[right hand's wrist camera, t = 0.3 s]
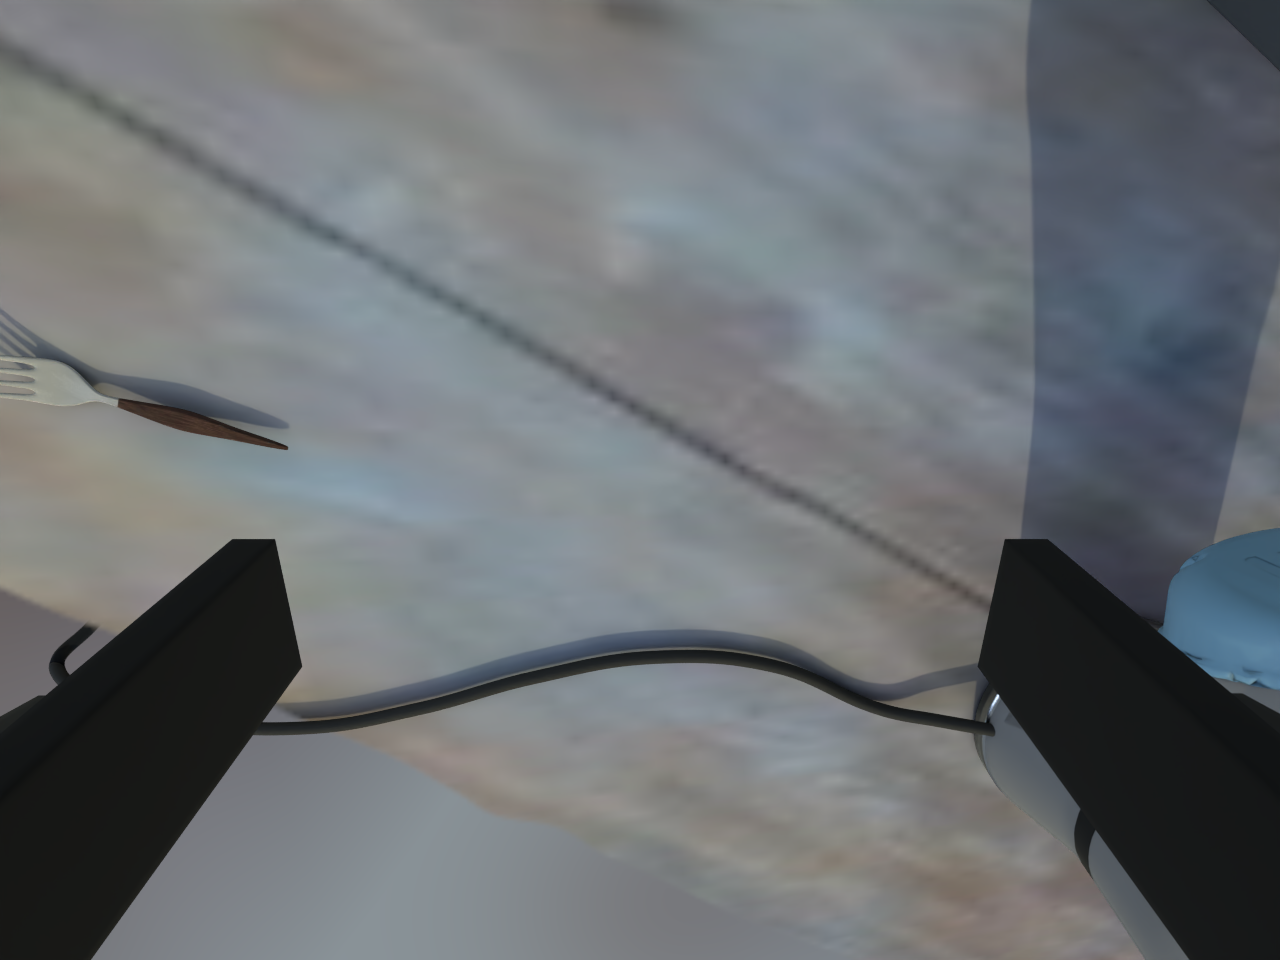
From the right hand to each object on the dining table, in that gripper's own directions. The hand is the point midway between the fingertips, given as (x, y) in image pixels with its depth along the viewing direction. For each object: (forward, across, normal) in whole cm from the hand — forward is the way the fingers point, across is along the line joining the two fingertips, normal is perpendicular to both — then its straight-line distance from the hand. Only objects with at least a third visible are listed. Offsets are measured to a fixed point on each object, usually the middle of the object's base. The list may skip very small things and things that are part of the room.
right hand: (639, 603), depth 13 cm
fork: (+27, -27, -4) cm, 38 cm away
